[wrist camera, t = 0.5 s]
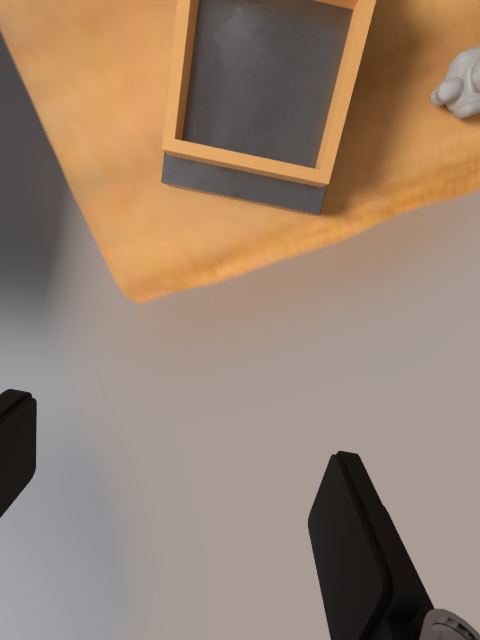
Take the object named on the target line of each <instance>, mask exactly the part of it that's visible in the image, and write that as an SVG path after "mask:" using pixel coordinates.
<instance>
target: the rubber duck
mask: <svg viewBox="0 0 480 640" xmlns="http://www.w3.org/2000/svg"><path fill="white" fill-rule="evenodd" d="M430 101H431V103H432V104H433V105H435V106H441V105H444V104H445V105H446V106H447V108H448V109H449V110H450V111H452V112H453V115H454V117H455V118H458V119H461V118H465V117H469V116H472V115H475V114H477V113H480V47H479V46H477V47H473V48H471V49H468V50H465V51H463V52H461V53H460V54H458V55H457V56H456V57H455V58H454V59H453V60H452V62H451V63H450V65H449V67H448V72H447V74H446V76H445V79H444V81H443V82H442V83H441V84H440V85H439V86H438V87H436V88H435V89H434V90H433V92H432V93H431V95H430Z"/></svg>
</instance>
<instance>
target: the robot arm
mask: <svg viewBox="0 0 480 640" xmlns="http://www.w3.org/2000/svg"><path fill="white" fill-rule="evenodd" d="M36 407H37V402H36V399H34V398H32V395H31V393H29V392H25V391H19V390H14V389H8V390H6V391H4V392H3V393H2V394H0V517H1V516H2V515H3V514H4V513H5V511H6V510H7V509H8V508H9V506H10V505H11V504H12V503H13V501H14V500H15V499H16V498H17V496H18V495H19V494H20V493H21V491H22V490H23V489H24V488H25V487H26V485H27V484H28V483H29V482H30V480H31V479H32V477H33V475H34V473H35V469H36V415H37V411H36V410H37V408H36ZM308 529H309V534H310V539H311V544H312V549H313V554H314V559H315V564H316V569H317V574H318V578H319V583H320V588H321V593H322V598H323V603H324V608H325V613H326V618H327V623H328V628H329V633H330V637H331V640H480V635H479V633H478V632H477V631H476V630H475V629H474V628H473V627H472V626H470V625H469V624H468V623H467V622H466V621H465V620H463V619H462V618H460V617H459V616H457V615H456V614H454V613H452V612H449V611H447V610H444V609H434V607H433V605H432V603H431V600H430V598H429V596H428V594H427V592H426V590H425V588H424V586H423V584H422V582H421V580H420V578H419V576H418V573H417V571H416V569H415V567H414V565H413V563H412V561H411V559H410V557H409V555H408V553H407V551H406V549H405V547H404V544H403V542H402V541H401V539H400V537H399V534H398V533H397V530H396V528H395V526H394V524H393V522H392V520H391V518H390V516H389V513H388V512H387V510H386V508H385V507H384V506H383V505H382V503H381V500H380V498H379V496H378V494H377V492H376V490H375V488H374V486H373V484H372V481H371V480H370V477H369V476H368V473H367V471H366V469H365V467H364V465H363V463H362V461H361V458H360V457H359V455H358V454H355V453H350V452H344V451H338V453H337V454H336V455H334V454H333V455H332V456H331V458H330V460H329V463H328V466H327V469H326V471H325V474H324V476H323V479H322V482H321V485H320V487H319V490H318V493H317V495H316V498H315V501H314V503H313V506H312V509H311V511H310V514H309V518H308Z"/></svg>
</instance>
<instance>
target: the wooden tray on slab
mask: <svg viewBox="0 0 480 640" xmlns="http://www.w3.org/2000/svg"><path fill="white" fill-rule="evenodd" d="M375 3H376V0H177V8H176V17H175V27H174V36H173V46H172V55H171V65H170V74H169V84H168V94H167V103H166V113H165V122H164V132H163V141H162V150H163V151H164V162H163V171H162V180H161V182H162V183H164V184H166V185H169V186H172V187H177V188H181V189H186V190H191V191H196V192H201V193H206V194H211V195H216V196H220V197H225V198H230V199H235V200H240V201H245V202H250V203H254V204H259V205H264V206H269V207H274V208H279V209H284V210H289V211H293V212H298V213H303V214H308V215H319V213H320V210H321V206H322V202H323V198H324V194H325V190H326V186H327V185H328V184H329V181H330V177H331V174H332V170H333V166H334V162H335V158H336V154H337V150H338V146H339V142H340V139H341V135H342V131H343V127H344V123H345V119H346V115H347V111H348V108H349V104H350V100H351V96H352V92H353V88H354V84H355V80H356V77H357V73H358V69H359V65H360V61H361V57H362V53H363V49H364V46H365V42H366V38H367V34H368V30H369V26H370V22H371V18H372V15H373V11H374V7H375Z"/></svg>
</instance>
